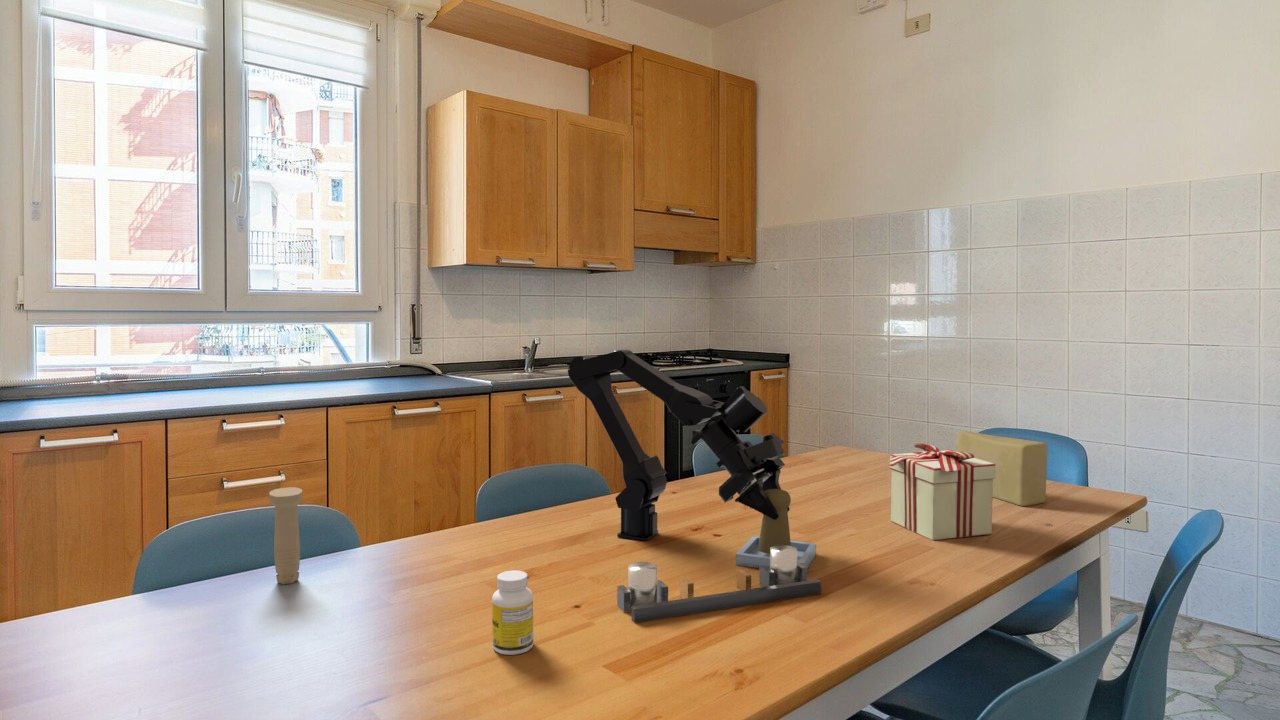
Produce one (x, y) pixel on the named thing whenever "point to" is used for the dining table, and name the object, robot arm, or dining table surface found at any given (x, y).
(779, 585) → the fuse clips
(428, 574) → the dining table surface
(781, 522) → the olive knobbed post
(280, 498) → the handle
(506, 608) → the supplement bottle
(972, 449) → the cheese
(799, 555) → the tray
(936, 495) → the gift box
